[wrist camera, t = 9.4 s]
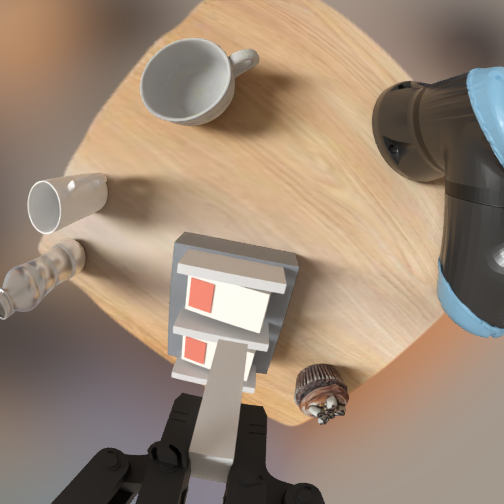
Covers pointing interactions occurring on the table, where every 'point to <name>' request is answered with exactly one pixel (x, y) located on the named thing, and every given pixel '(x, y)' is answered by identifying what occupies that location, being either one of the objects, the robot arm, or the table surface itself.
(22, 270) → the plastic bottle
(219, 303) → the breaker
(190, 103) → the teacup
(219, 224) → the table surface
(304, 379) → the cupcake
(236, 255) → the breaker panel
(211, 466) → the robot arm
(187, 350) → the block
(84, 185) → the mug
